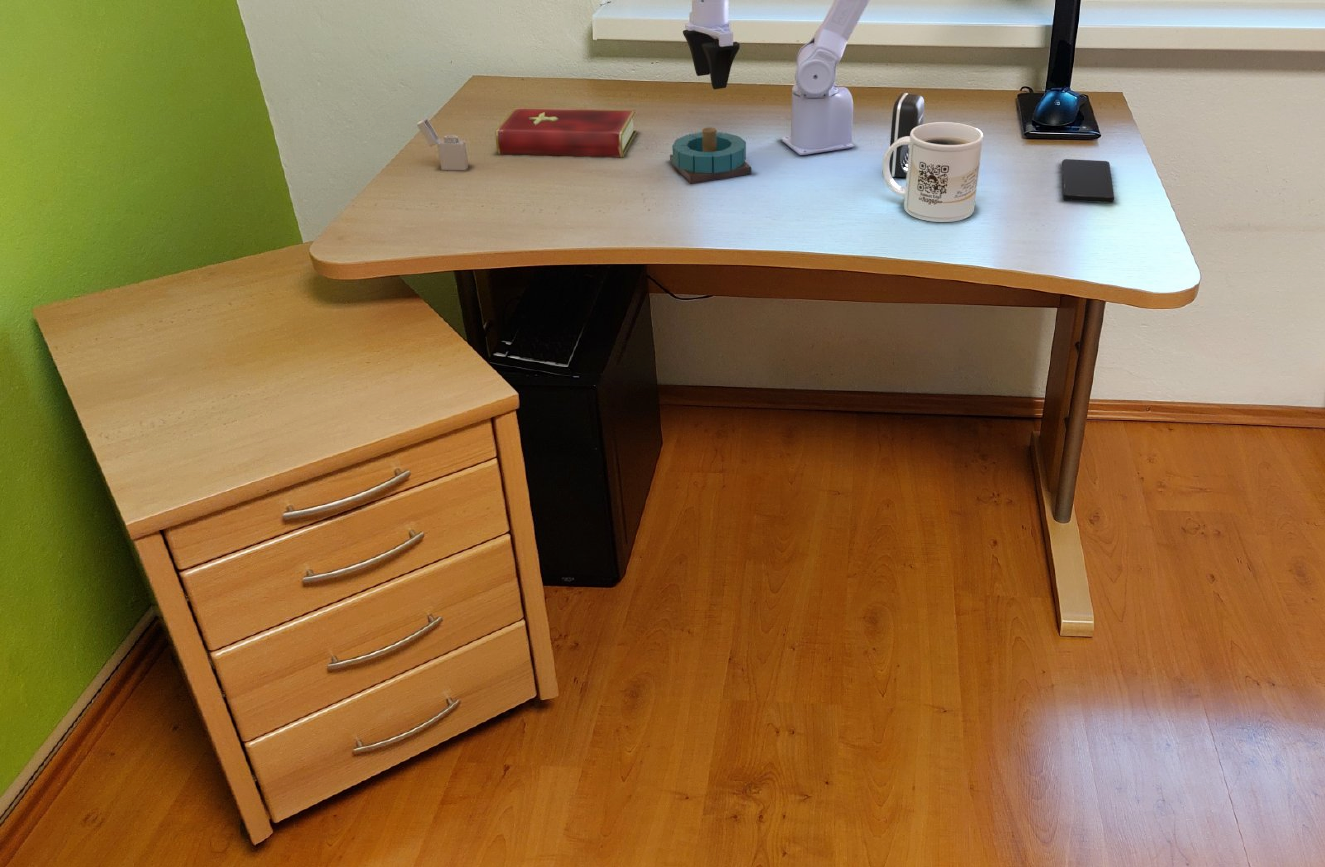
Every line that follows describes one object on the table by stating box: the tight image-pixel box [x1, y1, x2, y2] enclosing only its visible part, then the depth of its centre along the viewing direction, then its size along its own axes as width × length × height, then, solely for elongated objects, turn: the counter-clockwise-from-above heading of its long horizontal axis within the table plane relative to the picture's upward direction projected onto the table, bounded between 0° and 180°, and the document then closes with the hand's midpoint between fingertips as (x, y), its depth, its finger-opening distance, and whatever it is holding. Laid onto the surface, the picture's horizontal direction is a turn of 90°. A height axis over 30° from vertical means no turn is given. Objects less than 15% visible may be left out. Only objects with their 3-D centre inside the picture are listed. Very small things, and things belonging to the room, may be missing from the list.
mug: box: [882, 121, 984, 223], centre depth 160 cm, size 10×12×11 cm
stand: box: [669, 127, 752, 185], centre depth 177 cm, size 10×10×6 cm
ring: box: [671, 131, 747, 173], centre depth 177 cm, size 11×11×3 cm
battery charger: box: [889, 92, 925, 178], centre depth 171 cm, size 7×4×11 cm, turn 159°
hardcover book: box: [494, 107, 637, 158], centre depth 189 cm, size 12×21×4 cm, turn 80°
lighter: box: [416, 117, 469, 171], centre depth 180 cm, size 7×2×8 cm, turn 81°
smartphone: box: [1061, 158, 1115, 203], centre depth 167 cm, size 7×1×15 cm
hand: (711, 81), depth 181 cm, fingers open, 7 cm apart
